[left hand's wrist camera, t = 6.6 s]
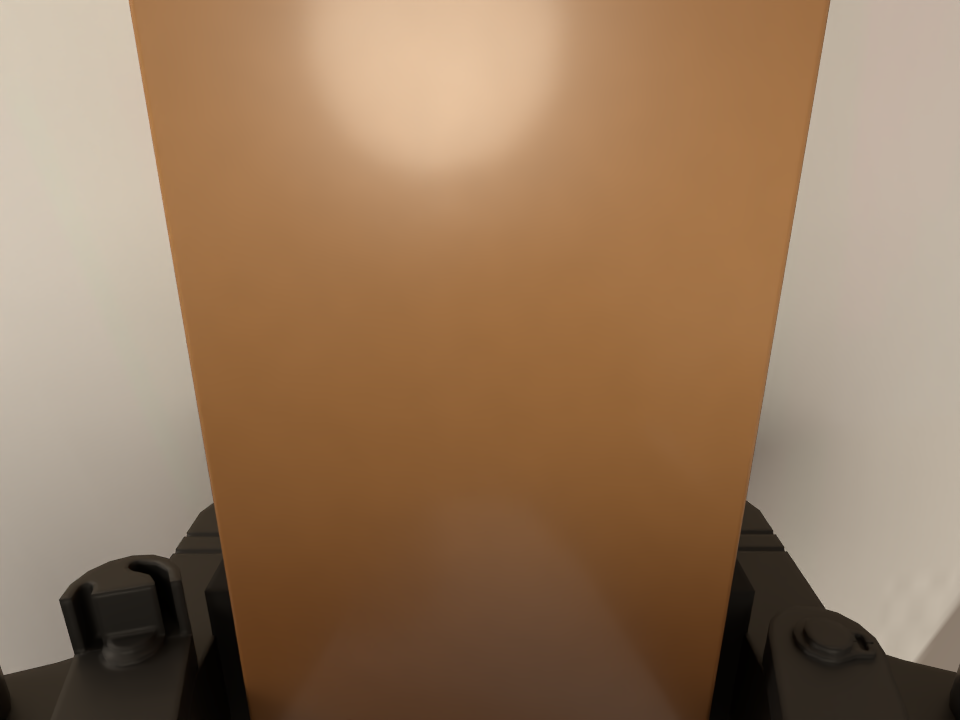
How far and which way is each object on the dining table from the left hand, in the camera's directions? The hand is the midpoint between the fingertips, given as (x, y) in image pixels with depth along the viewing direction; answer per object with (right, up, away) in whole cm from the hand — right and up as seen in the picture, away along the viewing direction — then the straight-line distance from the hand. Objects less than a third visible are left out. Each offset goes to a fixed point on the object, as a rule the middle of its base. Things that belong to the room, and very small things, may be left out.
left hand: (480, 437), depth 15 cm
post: (0, +27, -10) cm, 29 cm away
